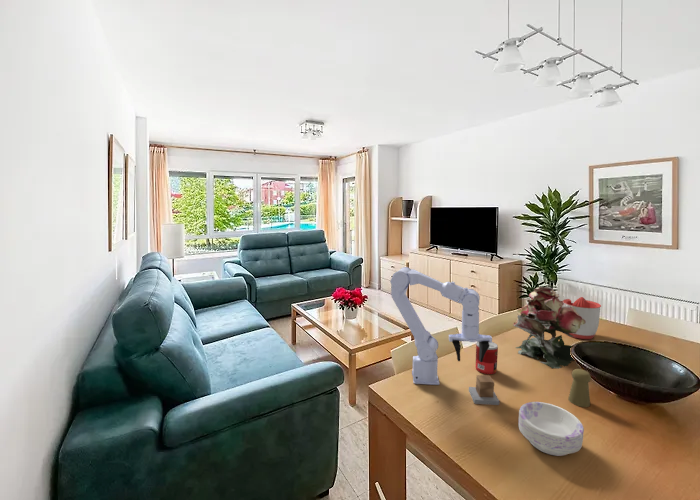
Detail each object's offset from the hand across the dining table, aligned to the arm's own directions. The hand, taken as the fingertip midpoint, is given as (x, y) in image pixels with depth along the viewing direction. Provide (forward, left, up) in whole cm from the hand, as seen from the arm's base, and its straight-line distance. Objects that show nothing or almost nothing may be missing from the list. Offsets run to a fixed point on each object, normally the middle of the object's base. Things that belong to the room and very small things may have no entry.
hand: (469, 360), depth 118 cm
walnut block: (+4, -6, -9) cm, 11 cm away
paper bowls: (+16, -27, -11) cm, 33 cm away
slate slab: (+4, -6, -11) cm, 13 cm away
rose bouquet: (+40, +35, -11) cm, 54 cm away
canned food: (+10, +14, -11) cm, 20 cm away
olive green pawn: (+35, -5, -11) cm, 37 cm away
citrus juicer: (+66, +57, -11) cm, 88 cm away
